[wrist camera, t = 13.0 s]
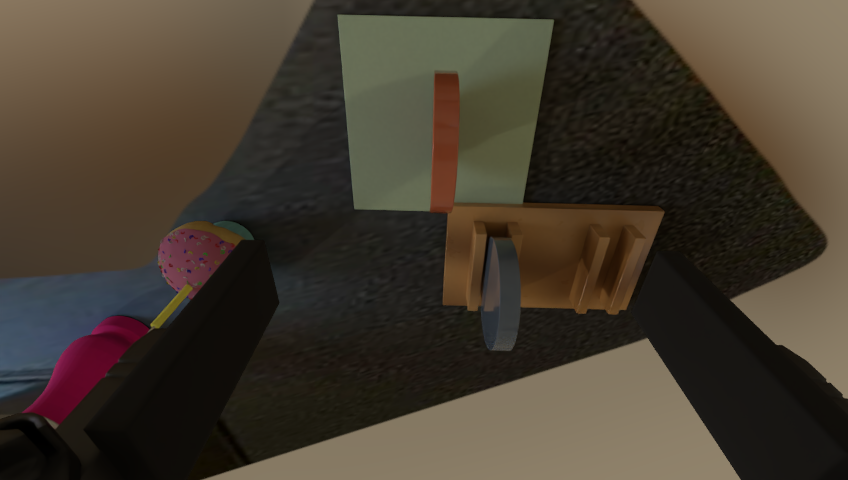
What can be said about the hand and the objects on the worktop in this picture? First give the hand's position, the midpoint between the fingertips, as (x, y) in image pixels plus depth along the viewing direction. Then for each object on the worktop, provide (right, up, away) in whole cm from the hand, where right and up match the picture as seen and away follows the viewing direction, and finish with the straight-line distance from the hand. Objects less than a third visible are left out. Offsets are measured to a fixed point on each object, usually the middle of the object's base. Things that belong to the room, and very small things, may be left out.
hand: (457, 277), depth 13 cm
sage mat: (0, +11, +19) cm, 22 cm away
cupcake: (-21, +1, +25) cm, 33 cm away
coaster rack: (+11, 0, +26) cm, 28 cm away
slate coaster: (+5, -3, +20) cm, 21 cm away
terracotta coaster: (0, +8, +14) cm, 17 cm away
